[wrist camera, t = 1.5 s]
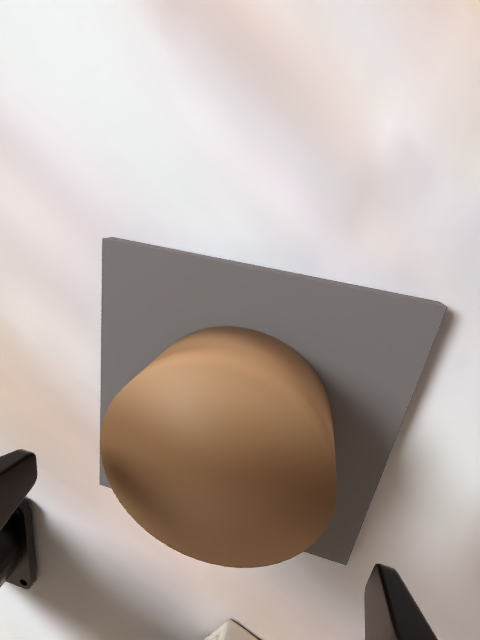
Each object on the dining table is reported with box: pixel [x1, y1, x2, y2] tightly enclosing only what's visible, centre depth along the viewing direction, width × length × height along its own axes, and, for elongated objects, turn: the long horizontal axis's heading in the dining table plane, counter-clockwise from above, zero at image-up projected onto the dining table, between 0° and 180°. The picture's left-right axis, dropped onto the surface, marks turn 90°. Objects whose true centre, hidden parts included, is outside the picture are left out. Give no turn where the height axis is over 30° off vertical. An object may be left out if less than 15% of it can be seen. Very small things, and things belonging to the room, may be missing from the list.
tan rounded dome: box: [100, 326, 337, 568], centre depth 11 cm, size 7×7×3 cm
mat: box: [100, 237, 447, 565], centre depth 13 cm, size 11×11×1 cm
